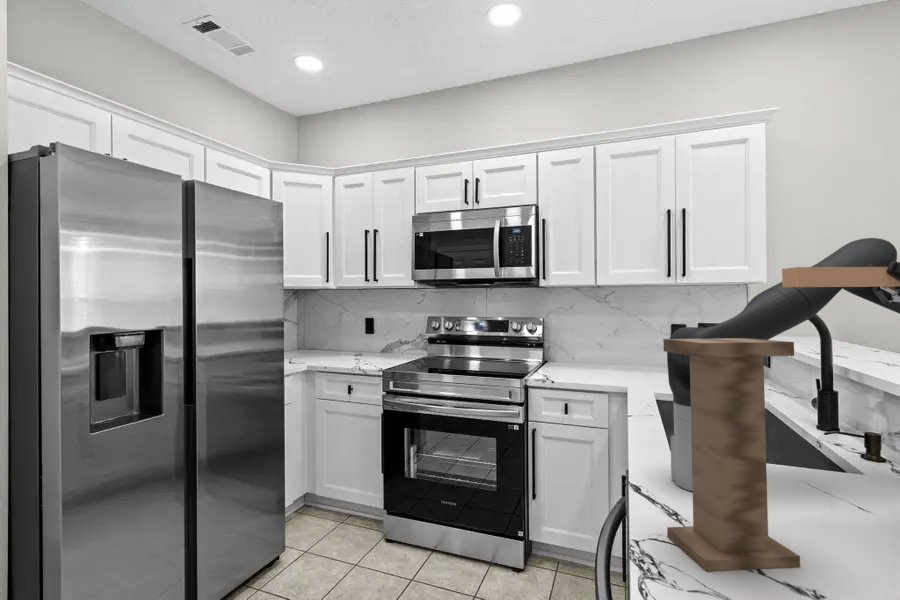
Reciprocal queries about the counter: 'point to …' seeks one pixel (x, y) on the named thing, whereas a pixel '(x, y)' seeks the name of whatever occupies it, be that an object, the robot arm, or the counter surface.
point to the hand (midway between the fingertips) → (879, 267)
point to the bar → (838, 277)
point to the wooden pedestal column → (729, 455)
